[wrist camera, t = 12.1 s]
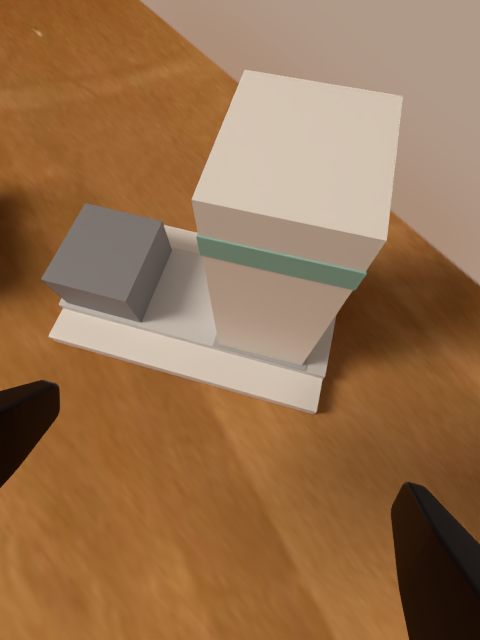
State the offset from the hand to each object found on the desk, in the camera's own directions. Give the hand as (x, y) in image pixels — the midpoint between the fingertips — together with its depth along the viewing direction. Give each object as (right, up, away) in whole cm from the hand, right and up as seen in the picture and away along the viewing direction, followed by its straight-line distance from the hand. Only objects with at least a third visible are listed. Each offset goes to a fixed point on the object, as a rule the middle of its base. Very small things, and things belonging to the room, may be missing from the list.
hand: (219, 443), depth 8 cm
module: (+2, +4, +12) cm, 13 cm away
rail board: (-2, +4, +14) cm, 15 cm away
